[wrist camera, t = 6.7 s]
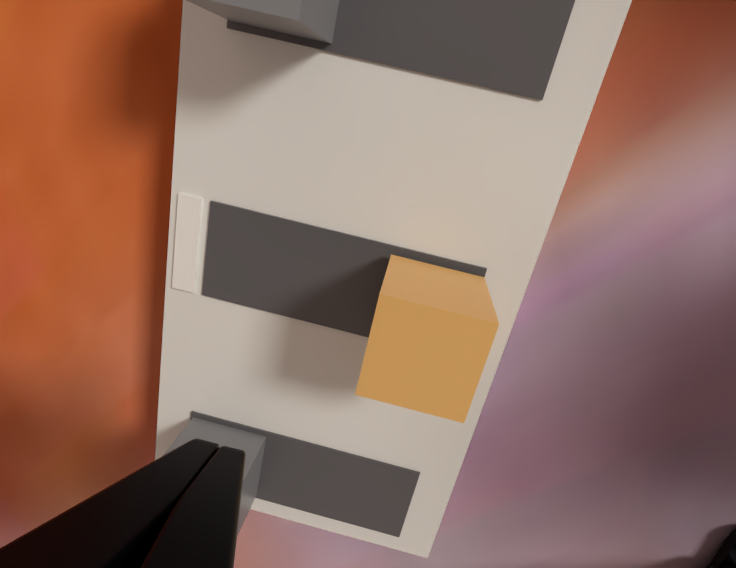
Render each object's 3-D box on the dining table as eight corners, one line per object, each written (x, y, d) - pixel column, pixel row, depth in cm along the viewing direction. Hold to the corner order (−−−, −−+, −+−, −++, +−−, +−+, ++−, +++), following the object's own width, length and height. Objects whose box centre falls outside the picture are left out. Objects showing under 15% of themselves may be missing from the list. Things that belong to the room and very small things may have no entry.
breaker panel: (625, -42, 13) (749, -142, 8) (428, 519, 21) (426, 651, 16) (224, -126, 14) (100, -271, 9) (177, 450, 22) (97, 556, 17)
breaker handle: (484, 277, 15) (499, 324, 11) (457, 359, 16) (464, 423, 12) (391, 254, 15) (379, 294, 11) (370, 336, 16) (354, 394, 13)
